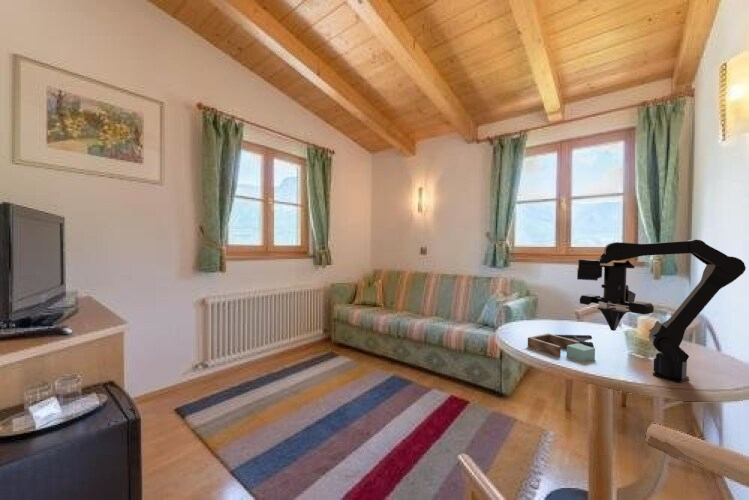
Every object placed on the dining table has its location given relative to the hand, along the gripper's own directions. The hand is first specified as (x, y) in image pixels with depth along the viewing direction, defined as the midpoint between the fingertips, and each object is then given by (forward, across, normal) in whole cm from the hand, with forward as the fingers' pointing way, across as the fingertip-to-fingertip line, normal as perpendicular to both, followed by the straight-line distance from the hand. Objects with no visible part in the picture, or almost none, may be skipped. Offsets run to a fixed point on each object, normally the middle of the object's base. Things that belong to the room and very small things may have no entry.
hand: (613, 330), depth 105 cm
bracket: (+13, +20, -18) cm, 29 cm away
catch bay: (+12, +20, 0) cm, 23 cm away
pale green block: (+12, +10, 0) cm, 16 cm away
